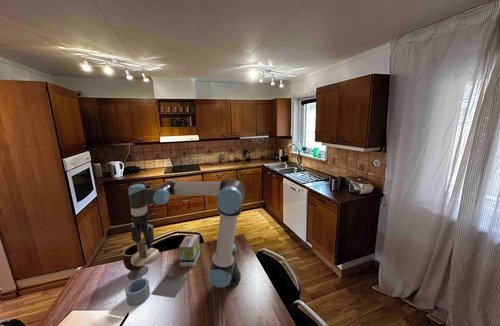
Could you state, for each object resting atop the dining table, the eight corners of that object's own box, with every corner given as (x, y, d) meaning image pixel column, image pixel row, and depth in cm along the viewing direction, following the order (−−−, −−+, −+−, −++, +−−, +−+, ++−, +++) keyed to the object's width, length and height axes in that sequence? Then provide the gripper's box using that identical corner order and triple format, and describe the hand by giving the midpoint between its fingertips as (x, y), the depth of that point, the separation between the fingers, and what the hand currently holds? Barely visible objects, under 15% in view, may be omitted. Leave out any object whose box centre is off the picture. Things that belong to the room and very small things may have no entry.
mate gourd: (139, 282, 124) (135, 253, 120) (120, 279, 127) (115, 250, 123) (156, 265, 139) (152, 238, 135) (138, 263, 142) (134, 237, 138)
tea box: (194, 266, 136) (193, 247, 133) (180, 267, 136) (177, 247, 134) (200, 252, 151) (199, 234, 148) (187, 253, 151) (185, 235, 148)
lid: (164, 251, 117) (163, 235, 115) (147, 267, 103) (145, 250, 101) (143, 248, 120) (141, 232, 118) (124, 264, 106) (121, 246, 104)
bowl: (154, 291, 117) (152, 279, 115) (140, 308, 106) (138, 295, 105) (137, 288, 119) (135, 277, 118) (122, 305, 109) (120, 292, 107)
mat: (188, 278, 126) (188, 277, 126) (174, 298, 111) (174, 297, 111) (166, 275, 129) (166, 274, 129) (150, 294, 115) (150, 294, 114)
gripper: (158, 211, 108) (162, 251, 113) (131, 209, 112) (136, 247, 116) (148, 218, 101) (153, 259, 105) (120, 215, 105) (126, 255, 109)
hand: (144, 253), depth 111 cm, fingers closed on lid, 4 cm apart
